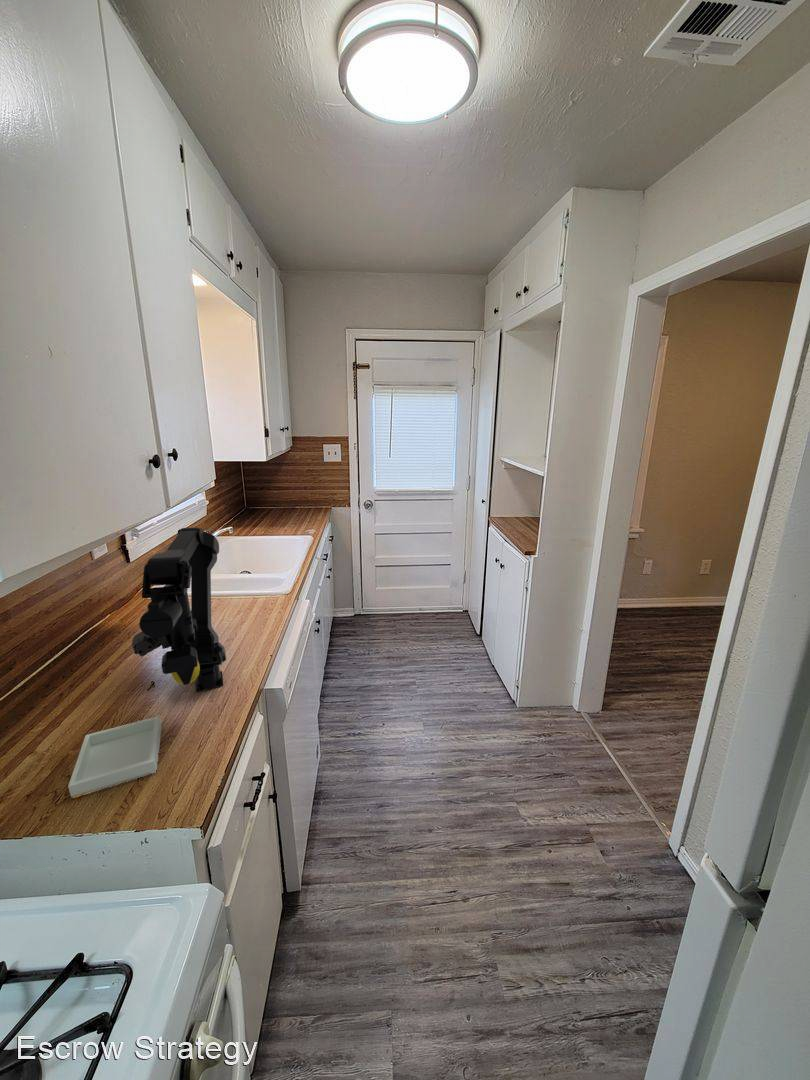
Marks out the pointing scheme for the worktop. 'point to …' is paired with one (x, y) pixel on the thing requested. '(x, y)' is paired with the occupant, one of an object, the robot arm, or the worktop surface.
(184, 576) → the robot arm
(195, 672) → the lemon
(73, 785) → the tray
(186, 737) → the worktop surface
